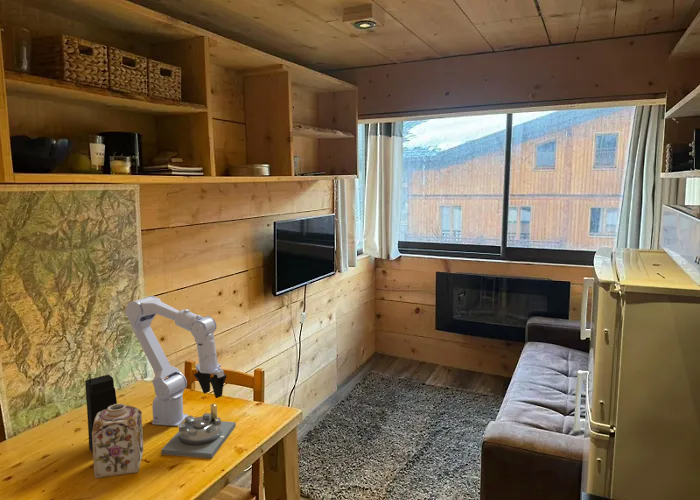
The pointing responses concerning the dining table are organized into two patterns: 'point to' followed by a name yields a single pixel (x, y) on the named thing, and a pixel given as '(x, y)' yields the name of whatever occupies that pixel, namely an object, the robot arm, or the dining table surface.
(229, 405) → the dining table surface
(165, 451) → the base plate
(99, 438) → the decorative jar
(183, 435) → the notched steel disc
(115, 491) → the dining table surface
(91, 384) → the portable radio
